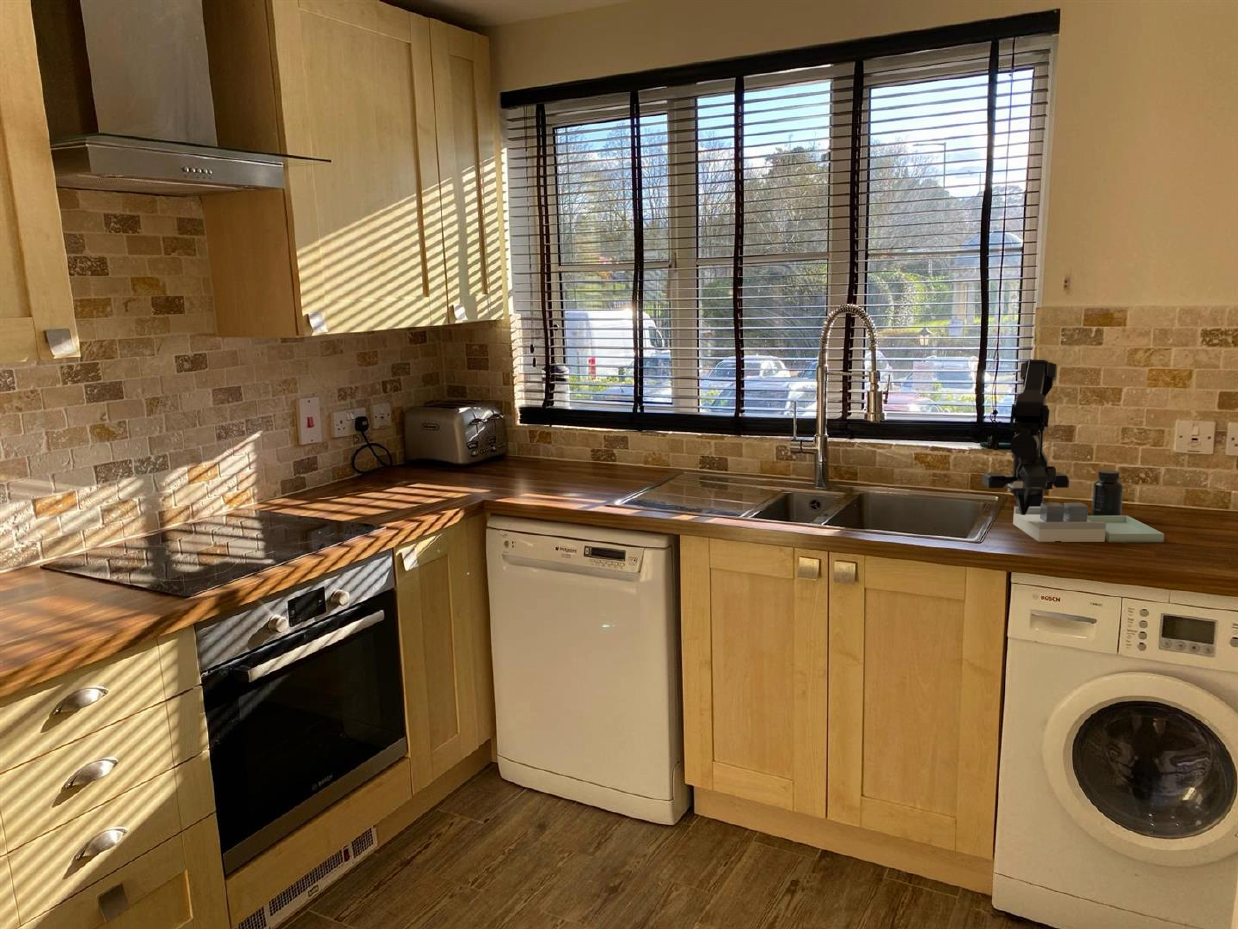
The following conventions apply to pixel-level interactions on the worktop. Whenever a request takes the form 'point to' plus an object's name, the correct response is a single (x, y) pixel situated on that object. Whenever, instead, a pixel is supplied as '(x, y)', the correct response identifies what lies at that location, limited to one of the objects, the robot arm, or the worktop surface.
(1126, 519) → the tray
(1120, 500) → the supplement bottle
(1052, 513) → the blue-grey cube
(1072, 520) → the gray cube
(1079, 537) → the channel
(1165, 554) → the worktop surface
